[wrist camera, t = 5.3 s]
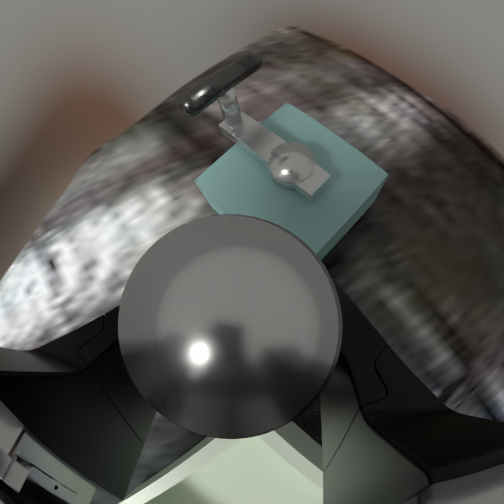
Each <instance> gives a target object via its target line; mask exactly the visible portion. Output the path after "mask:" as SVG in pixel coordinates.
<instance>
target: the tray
mask: <svg viewBox="0 0 504 504" xmlns="http://www.w3.org/2000/svg"><path fill="white" fill-rule="evenodd" d="M117 504H323V454H322V447H321V446H320V445H319V444H318V443H317V442H316V441H314V440H313V439H312V438H311V437H310V436H309V435H307V434H306V433H305V432H304V431H303V430H302V429H301V428H300V427H298V426H297V425H296V424H295V423H294V422H293V421H291V422H290V423H288V424H286V425H284V426H283V427H281V428H279V429H276V430H274V431H271V432H269V433H266V434H263V435H259V436H255V437H250V438H241V439H220V438H214V437H207V438H205V439H204V440H203V441H201V442H200V443H199V444H197V445H196V446H195V447H193V448H192V449H191V450H190V451H188V452H187V453H185V454H184V455H183V456H181V457H180V458H179V459H177V460H176V461H174V462H173V463H172V464H170V465H169V466H167V467H166V468H165V469H163V470H162V471H160V472H159V473H157V474H156V475H154V476H153V477H151V478H150V479H148V480H147V481H145V482H144V483H142V484H141V485H140V486H138V487H137V488H136V489H135V490H133V491H132V492H131V493H130V494H128V495H127V496H126V497H125V498H124V499H123V501H122V500H121V501H120V502H118V503H117Z"/></svg>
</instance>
